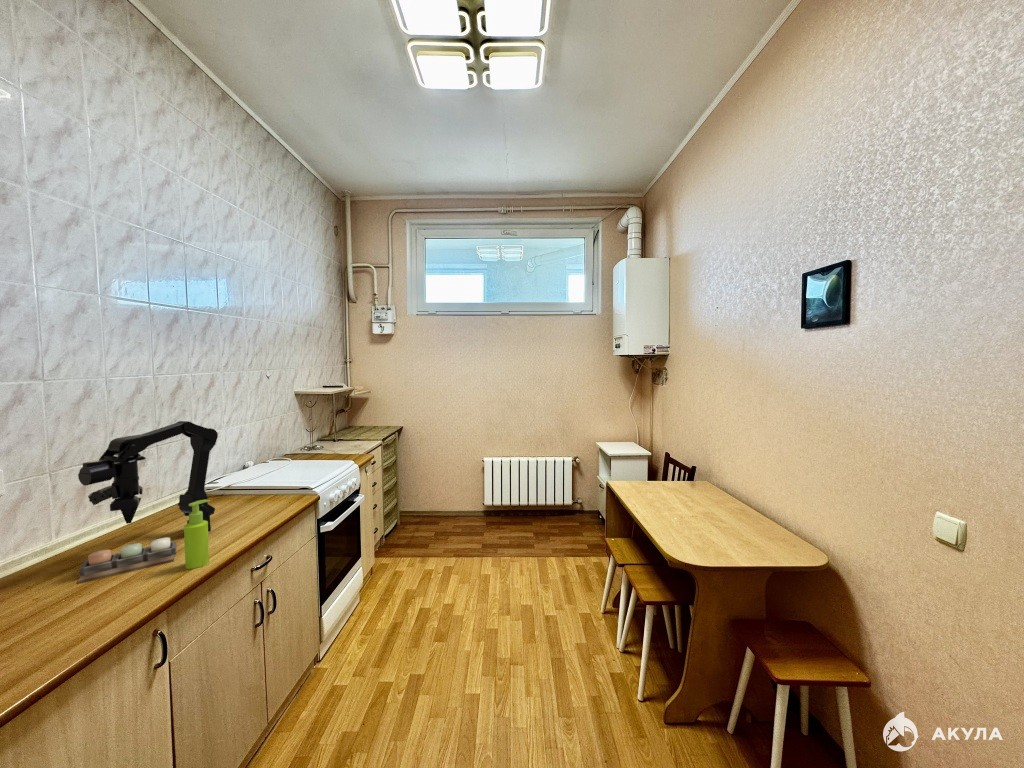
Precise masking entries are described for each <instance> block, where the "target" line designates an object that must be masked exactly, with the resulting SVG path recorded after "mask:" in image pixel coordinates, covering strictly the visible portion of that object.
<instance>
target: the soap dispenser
mask: <svg viewBox="0 0 1024 768" xmlns="http://www.w3.org/2000/svg"><path fill="white" fill-rule="evenodd" d="M205 502H208V503H209V502H211V499H208V500H199V501H196V502H193V503H190V504H189V506H192V512H191V513H190V514H189V516H188V520H189V523H188V524H187V523H186V524H184V526H183V530H184V531H183V532H184V533H183V535H184V558H185V559H184V560H185V563H184V564H185V569H188V570H193V569H199V568H202V567H204V566H206V565H208V564H209V563H210V550H209V549H210V548H209V546H210V544H209V543H210V542H209V531H208V521H205V520H203V512H202V511H199V504H202V503H205Z"/></svg>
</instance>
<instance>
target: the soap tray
mask: <svg viewBox="0 0 1024 768" xmlns="http://www.w3.org/2000/svg"><path fill="white" fill-rule="evenodd" d="M177 542H178V541H177V540H175V541H173V540H172V541H170V547H171V548H170V549H165V550H161V551H156V552H152V553H151V545H150V546H146V547H145V546H143V547H142V555H138V556H133V557H129V558H124V559H121V552H118V553H111V561H110V562H106V563H101V564H97V565H92V566H89V559H85V560H84V561H83V563H82V564H81V566H80V567H79V579H78V580H77V582H78V583H77V584H83V583H87V582H92V581H96V580H100V579H104V578H108V577H113V576H117V575H121V574H125V573H131V572H134V571H137V570H143V569H148V568H151V567H155V566H160V565H163V564H168V563H173V562H174V561H175V556H176V554H177V548H178V546H177V545H178V544H177Z"/></svg>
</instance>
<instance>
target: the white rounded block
mask: <svg viewBox="0 0 1024 768" xmlns="http://www.w3.org/2000/svg"><path fill="white" fill-rule="evenodd" d="M170 542H171V537H160V538H157V539H154V540H152V541H151V542H150V546H151V553H152V552H156V551H161V550H165V549H170V548H171V547H170Z"/></svg>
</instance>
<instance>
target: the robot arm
mask: <svg viewBox="0 0 1024 768" xmlns="http://www.w3.org/2000/svg"><path fill="white" fill-rule="evenodd" d="M179 435H183V436H185V437H188V438H189V439H190V443H189V444H190V446H191V448H192V451H193V454H192V462H191V467H190V474H189V481H188V487H187V489H186V491H185V493H184V494H179V498H178V504H177V506H178V509H179V511H181V513H183V515H184V516H185V517H189V514H190V513H191V512H192V506H189V504H190V503H193V502H196V501H199V500H209V498H208V493H206V490H205V487H206V480H207V473H208V467H209V466H208V465H209V460H210V453H211V451H212V449H213V448H214V447H215V445H216V443H217V440H218V438H219V436H218V435H219V433H218V431H216V430H215V429H214V428H209V427H204V426H201V425H198V424H195V423H193V422H191V421H186V420H179V421H176V422H175V423H171V424H169V425H166V426H164V427H163V426H162V427H160V428H157V429H153V430H150V431H148V432H145V433H142V434H137V435H127V436H122V437H117V438H114V439H112V440H109V441H110V442H109V443H108V446H107V448H106V449H105V450H104V452H103V454H102V455H101V456H100V458H99V459H98V460H97V461H96V460H95V461H88V462H87V461H86V462H83V463H82V467H80V469H79V470H78V474H77V478H78V481H79V483H80V484H81V485H83V486H90V485H95V484H99V483H103V482H107V481H111V480H113V481H112V483H111V485H109V486H105V487H103V488H101V489H97V490H95V491H93V492H91V493H89V495H88V496H87V497H88V502H90V503H91V504H92V506H96V505H98V504H100V503H101V502H104V501H107V500H108V499H109V500H110V499H111V498H112V500H113V501H110V502H111V503H110V504H109V511H110V512H115V511H120V512H121V514H122V516H123V519H124V522H125V524H127V525H129V524H132V521H133V520H134V517H135V514H136V512H137V510H138V508H139V506H140V503H141V499H142V497H138V496H139V495H143V490H144V488H143V486H141V485H140V475H139V464H138V461H144V460H146V457H145V456H143V455H141V454H140V453H141V452H144V451H145V450H146V449H147V448H148V447H150V446H152V445H154V444H156V443H160V442H162V441H166V440H168V439H170V438H171V439H172V438H174V437H176V436H179ZM199 511H202V512H203V520H205V521H208V532H211V531H212V525H211V516H212V515H214V513H215V511H216V508H215V507H214V506H213V505H211V504H209V502H205V503H202V504H199ZM188 523H189V519H187V520H186V524H188Z"/></svg>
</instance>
